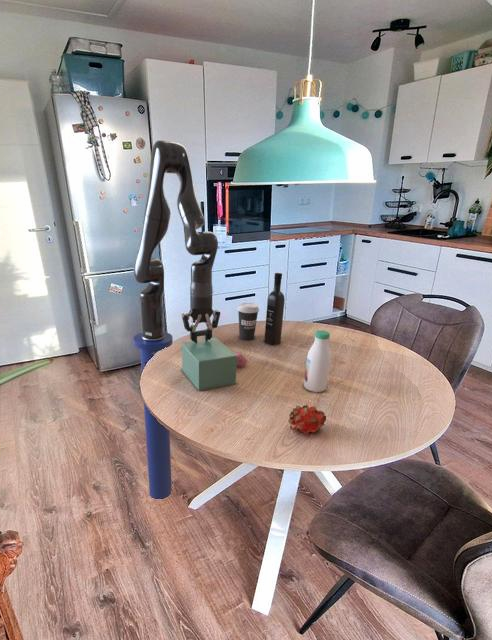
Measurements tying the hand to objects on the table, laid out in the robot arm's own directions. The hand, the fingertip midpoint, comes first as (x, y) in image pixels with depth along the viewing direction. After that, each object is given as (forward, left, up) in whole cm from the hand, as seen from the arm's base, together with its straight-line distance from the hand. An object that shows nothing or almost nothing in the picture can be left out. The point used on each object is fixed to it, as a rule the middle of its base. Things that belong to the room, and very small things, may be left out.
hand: (201, 340), depth 138 cm
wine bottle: (-14, +39, -12) cm, 43 cm away
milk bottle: (+27, +31, -12) cm, 43 cm away
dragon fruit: (+47, +13, -12) cm, 51 cm away
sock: (+1, +15, -11) cm, 19 cm away
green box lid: (+6, 0, -2) cm, 7 cm away
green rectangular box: (+7, 0, -11) cm, 13 cm away
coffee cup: (-23, +31, -12) cm, 40 cm away
